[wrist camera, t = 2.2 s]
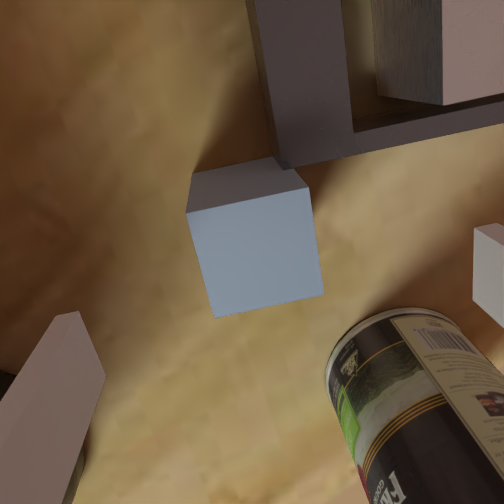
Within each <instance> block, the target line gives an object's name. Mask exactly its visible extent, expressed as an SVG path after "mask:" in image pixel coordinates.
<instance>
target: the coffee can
mask: <svg viewBox="0 0 504 504" xmlns="http://www.w3.org/2000/svg"><path fill="white" fill-rule="evenodd" d="M325 383H326V390H327V393H328V396H329V398H330V400H331V402H332V404H333V406H334V409H335V411H336V414H337V417H338V419H339V423H340V425H341V427H342V430H343V433H344V436H345V438H346V441H347V444H348V446H349V449H350V452H351V454H352V457H353V460H354V462H355V465H356V468H357V470H358V473H359V476H360V479H361V482H362V485H363V487H364V490H365V492H366V495H367V498H368V501H369V503H370V504H504V376H503V375H502V374H501V373H500V372H499V371H498V370H497V369H496V367H495V366H494V365H493V364H492V363H491V362H490V361H489V360H488V359H487V358H486V357H485V356H484V355H483V354H482V352H481V351H480V350H478V348H477V347H476V346H475V345H474V344H473V343H472V342H471V341H470V340H469V339H468V338H467V337H466V336H465V335H464V334H463V333H462V331H461V330H460V328H459V327H458V326H457V325H456V324H455V323H454V322H453V321H452V320H451V319H449V318H448V317H446V316H444V315H443V314H441V313H438V312H436V311H432V310H429V309H424V308H417V307H406V308H397V309H393V310H387V311H384V312H381V313H379V314H377V315H374V316H372V317H369V318H368V319H366V320H364V321H362V322H361V323H359V324H358V325H356V326H355V327H354V328H353V329H351V330H350V331H349V332H348V333H347V334H346V335H345V336H344V337H343V338H342V339H341V340H340V341H339V343H338V344H337V345H336V347H335V349H334V350H333V352H332V354H331V356H330V359H329V361H328V364H327V368H326V375H325Z"/></svg>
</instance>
